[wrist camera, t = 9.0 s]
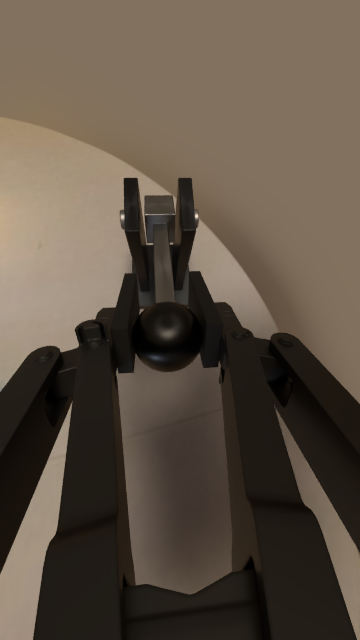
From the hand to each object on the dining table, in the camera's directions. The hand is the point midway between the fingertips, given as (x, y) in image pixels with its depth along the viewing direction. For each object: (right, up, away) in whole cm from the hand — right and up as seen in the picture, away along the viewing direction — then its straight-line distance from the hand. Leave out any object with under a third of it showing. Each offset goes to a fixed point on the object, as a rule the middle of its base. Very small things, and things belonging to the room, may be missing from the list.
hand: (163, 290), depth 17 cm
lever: (0, 0, 0) cm, 0 cm away
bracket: (-1, +3, +14) cm, 14 cm away
